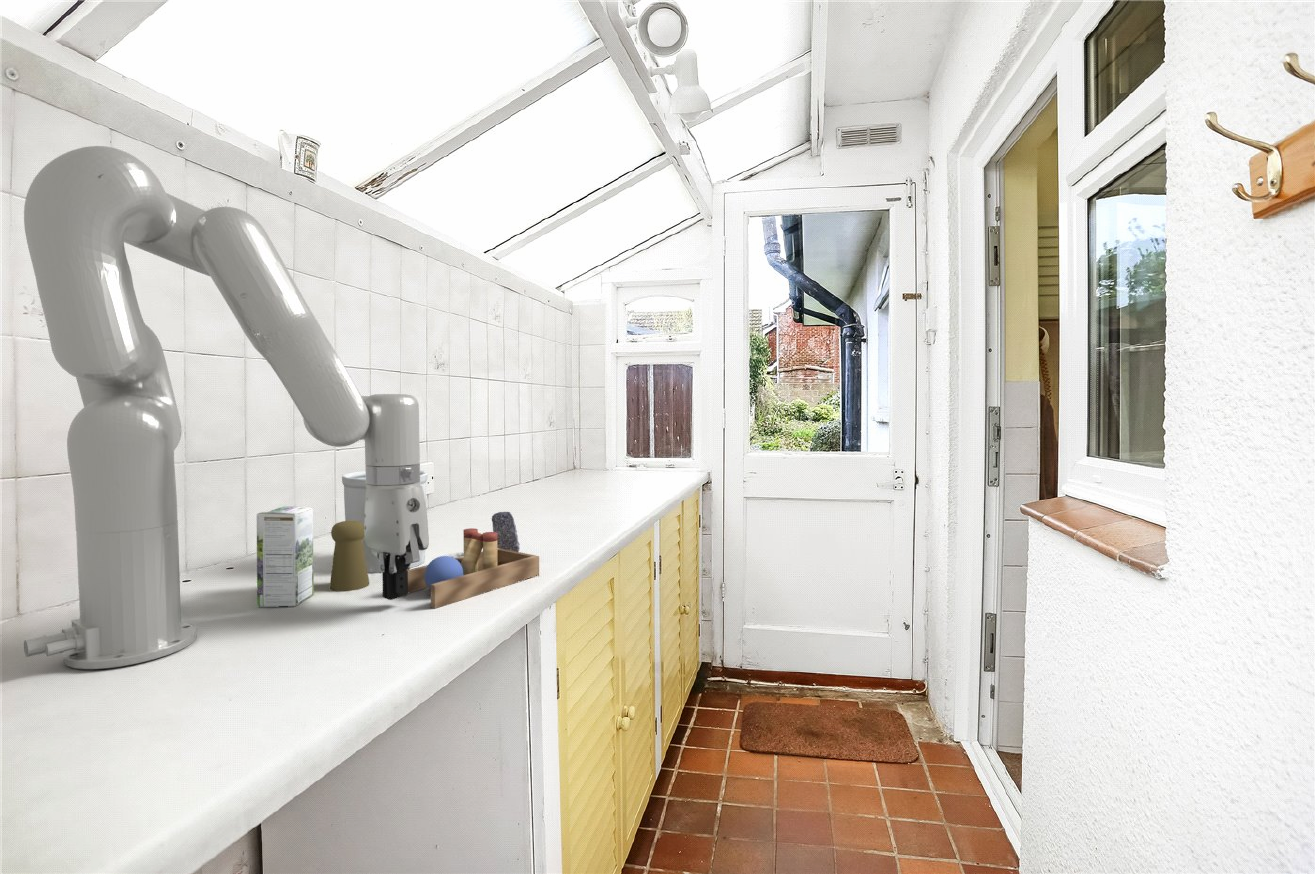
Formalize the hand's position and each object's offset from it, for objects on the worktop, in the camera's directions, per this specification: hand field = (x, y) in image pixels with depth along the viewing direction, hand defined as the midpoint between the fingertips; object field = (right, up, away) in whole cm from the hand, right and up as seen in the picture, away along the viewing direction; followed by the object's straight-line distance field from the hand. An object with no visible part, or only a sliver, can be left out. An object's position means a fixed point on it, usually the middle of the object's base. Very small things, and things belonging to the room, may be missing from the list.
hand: (395, 596), depth 93 cm
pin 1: (+7, -1, +15) cm, 16 cm away
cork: (-12, -1, +11) cm, 16 cm away
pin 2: (+11, -1, +12) cm, 17 cm away
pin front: (+7, -1, +10) cm, 12 cm away
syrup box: (-18, -2, +2) cm, 18 cm away
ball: (+5, +2, +7) cm, 9 cm away
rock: (+9, 0, +30) cm, 31 cm away
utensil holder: (-12, 0, +25) cm, 28 cm away
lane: (+8, -1, +12) cm, 14 cm away
